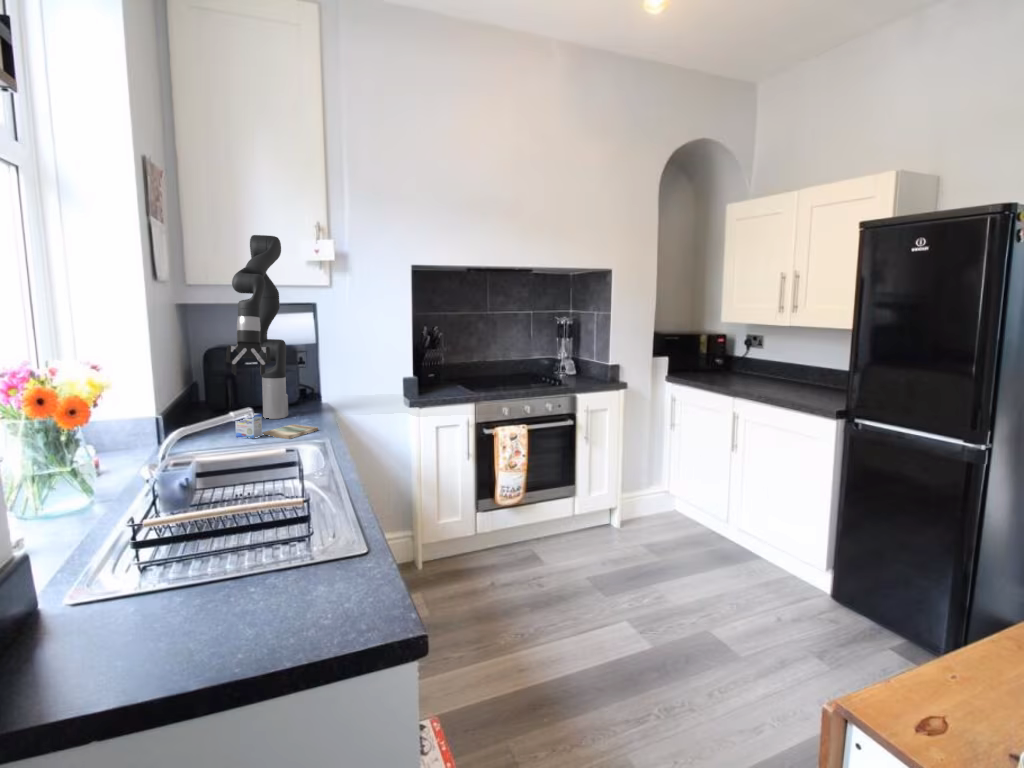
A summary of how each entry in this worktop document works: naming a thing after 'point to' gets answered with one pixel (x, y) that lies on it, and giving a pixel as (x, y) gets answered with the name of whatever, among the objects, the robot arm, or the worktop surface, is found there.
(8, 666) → the worktop surface
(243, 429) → the medicine box
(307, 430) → the board
